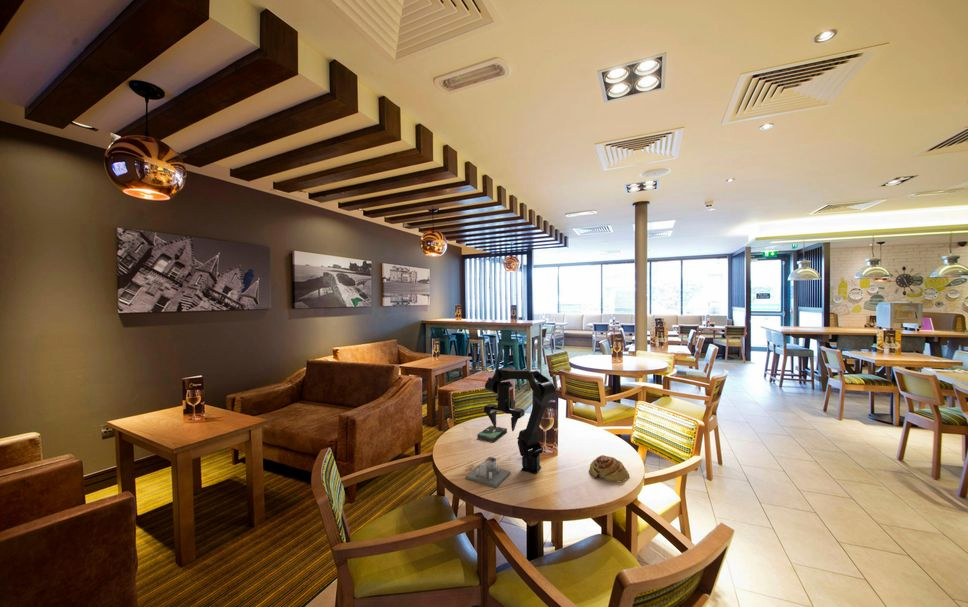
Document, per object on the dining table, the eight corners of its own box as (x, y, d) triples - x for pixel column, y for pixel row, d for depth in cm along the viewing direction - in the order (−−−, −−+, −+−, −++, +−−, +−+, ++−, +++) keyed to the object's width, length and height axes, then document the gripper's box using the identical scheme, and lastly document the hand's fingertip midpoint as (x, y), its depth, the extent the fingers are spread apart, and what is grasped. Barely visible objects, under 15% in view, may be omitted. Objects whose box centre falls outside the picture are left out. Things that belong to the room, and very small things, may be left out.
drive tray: (510, 473, 140) (510, 465, 140) (496, 487, 130) (496, 478, 130) (481, 465, 147) (481, 457, 147) (465, 478, 137) (465, 469, 137)
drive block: (496, 470, 141) (496, 458, 141) (486, 479, 134) (486, 466, 134) (489, 468, 142) (489, 456, 142) (479, 477, 136) (479, 464, 136)
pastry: (582, 471, 142) (582, 452, 142) (610, 463, 148) (610, 445, 148) (606, 486, 130) (606, 465, 130) (635, 478, 136) (635, 457, 136)
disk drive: (490, 430, 190) (477, 439, 177) (490, 425, 190) (477, 434, 177) (507, 433, 185) (494, 443, 172) (507, 428, 185) (494, 437, 172)
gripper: (529, 393, 159) (529, 427, 159) (494, 389, 169) (494, 420, 169) (519, 399, 150) (519, 435, 150) (482, 394, 159) (483, 427, 159)
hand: (503, 429), depth 157 cm, fingers open, 9 cm apart
